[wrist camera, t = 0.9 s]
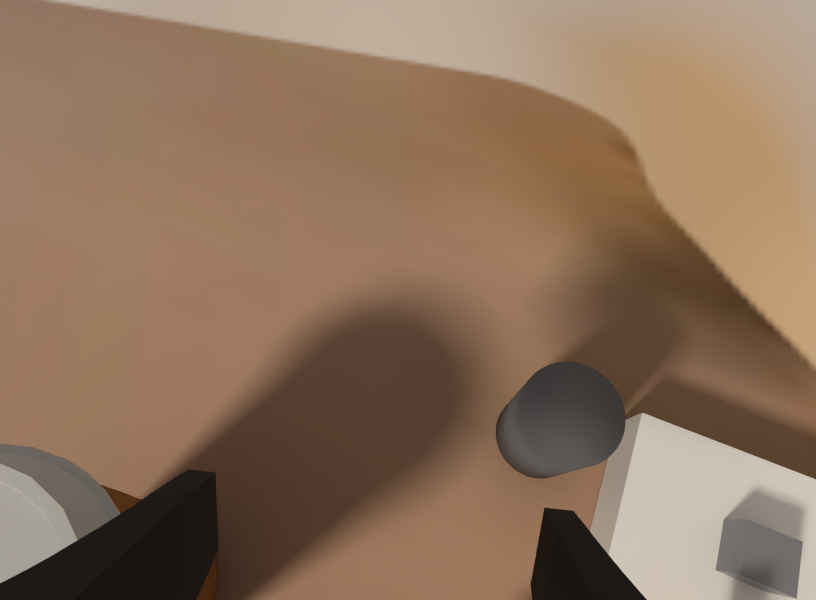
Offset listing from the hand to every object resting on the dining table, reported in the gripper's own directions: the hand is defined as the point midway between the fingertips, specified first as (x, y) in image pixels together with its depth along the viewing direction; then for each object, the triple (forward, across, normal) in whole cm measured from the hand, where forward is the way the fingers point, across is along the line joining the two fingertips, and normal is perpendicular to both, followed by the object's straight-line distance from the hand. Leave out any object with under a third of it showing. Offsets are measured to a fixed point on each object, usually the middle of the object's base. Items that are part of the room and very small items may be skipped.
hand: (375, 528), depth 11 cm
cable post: (+13, -7, +5) cm, 16 cm away
